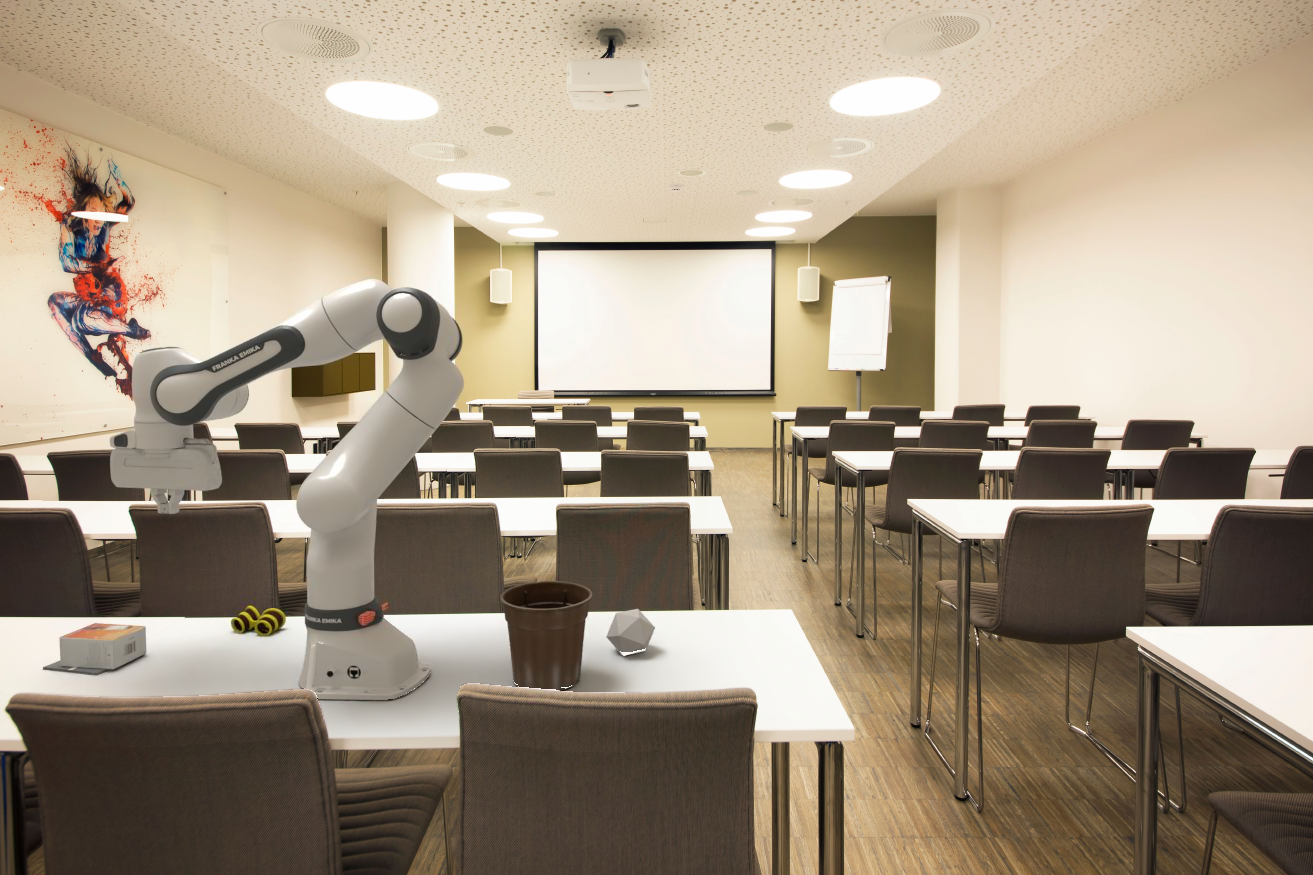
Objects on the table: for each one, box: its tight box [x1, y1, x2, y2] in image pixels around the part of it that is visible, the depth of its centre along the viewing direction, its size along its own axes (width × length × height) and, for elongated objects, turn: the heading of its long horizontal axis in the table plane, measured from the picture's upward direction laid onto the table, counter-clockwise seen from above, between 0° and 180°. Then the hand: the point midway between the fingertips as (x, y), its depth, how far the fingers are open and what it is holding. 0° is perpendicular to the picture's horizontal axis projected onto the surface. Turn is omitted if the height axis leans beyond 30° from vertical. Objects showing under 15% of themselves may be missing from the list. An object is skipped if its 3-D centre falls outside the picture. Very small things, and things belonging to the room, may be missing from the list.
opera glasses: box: [230, 605, 287, 637], centre depth 154 cm, size 10×5×5 cm, turn 77°
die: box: [606, 608, 656, 652], centre depth 147 cm, size 8×9×10 cm
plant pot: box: [500, 580, 593, 691], centre depth 132 cm, size 16×16×16 cm
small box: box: [58, 622, 147, 670], centre depth 136 cm, size 8×6×10 cm
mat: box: [42, 654, 146, 676], centre depth 137 cm, size 12×10×1 cm
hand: (168, 513), depth 133 cm, fingers closed
